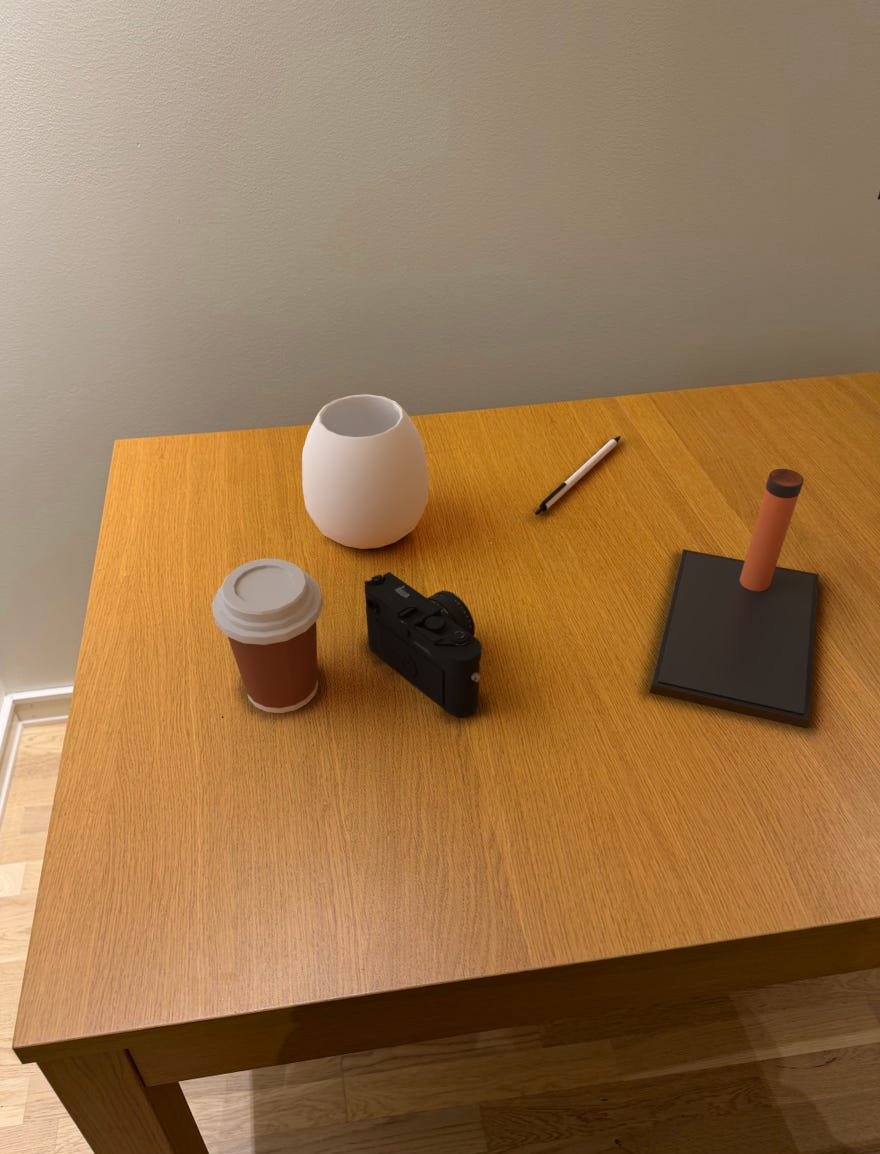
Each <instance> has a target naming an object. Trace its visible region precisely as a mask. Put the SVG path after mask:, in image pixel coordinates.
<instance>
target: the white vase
mask: <svg viewBox="0 0 880 1154" xmlns="http://www.w3.org/2000/svg"><path fill="white" fill-rule="evenodd" d="M301 459H302V460H301V479H302V480H301V482H302V486H301V488H302V493H303V500H304V505H305V506H304V507H305V510H306V512H307V513H308V515H309V516H310V518H311V521H313V523H314V525H315V526H316V527H317V528H318V530H319V532H320V533H321V534H322V535H323V536H324V537H327V538H329V539H330V540H331V541H334V542H336V543H338V544H340V545H342V546H345V547H347V548H348V547H349V548H354V549H360V550H367V549H380V548H382V547H385V546H388V545H392V544H394V543H397V542H398V541H400V540H401V539H403V538H404V537H405V536H406V535H408V534H409V533H411V532H413V531H414V530H415V529H416V527H417V526H418V524H419V522H420V520H421V518H422V516H423V514H424V511H425V509H426V507H427V504H428V502H429V472H428V464H427V456H426V451H425V445H424V441H423V439H422V437H421V434H420V433H419V430H418V427H417V426H416V425H415V423H414V422H413V420H412V418H411V417H410V416H409V414H408V413H407V412H406V410H405V409H404V408H403V407H402V405H400V404H399V403H398V402H397V401H396V400H393V399H390V398H389V397H385V396H382V395H376V394H375V395H374V394H370V393H369V394H368V393H366V394H365V393H364V394H352V395H351V394H350V395H348V396H347V395H346V396H344V397H340V398H337V399H334V400H332V401H330V402H329V403H327V404H325V405H323V407H322V408H321V409H320V410H319V412H318V413H317V414H316V417H315V418H314V420H313V422H312V424H311V426H310V427H309V429H308V432H307V435H306V437H305V442H304V445H303V448H302V455H301Z"/></svg>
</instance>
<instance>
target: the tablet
mask: <svg viewBox="0 0 880 1154" xmlns="http://www.w3.org/2000/svg"><path fill="white" fill-rule="evenodd" d="M744 562H745V559H744V560H743V559H738V558H732V557H728V556H727V557H726V556H721V555H716V554H711V553H705V552H700V551H694V550H688V549H682V551H681V555H680V561H679V564H678V568H677V573H676V577H675V580H674V585H673V589H672V594H671V598H670V602H669V607H668V611H667V614H666V620H665V624H664V628H663V631H662V636H661V641H660V645H659V650H658V654H657V658H656V661H655V666H654V670H653V675H652V678H651V679H652V680H651V683H650V684H651V685H650V687H649V693H651V694H656V695H660V696H665V697H668V698H673V699H678V700H682V701H687V702H690V703H696V704H700V705H703V706H704V705H705V706H707V707H708V706H709V707H713V708H716V709H721V710H726V711H731V712H735V713H739V714H743V715H747V716H752V717H756V718H761V719H765V720H770V721H774V722H778V723H783V724H788V725H792V726H796V727H801V728H806V729H807V727H808V725H809V723H810V720H811V719H810V718H811V703H812V689H813V672H814V671H813V670H814V657H815V656H814V655H815V641H816V640H815V639H816V622H817V607H818V592H819V579H820V577H819V573H814V572H810V571H803V570H798V569H793V568H788V567H782V566H777V565H776V568H775V571H774V574H773V577H772V580H771V583H770V586H769V588H768V589H766V590H764V591H759V592H757V591H751V590H748V589H746V588H745V587H743V586H742V585H741V583H740V576H741V573H742V569H743V566H744Z"/></svg>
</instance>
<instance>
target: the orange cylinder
mask: <svg viewBox="0 0 880 1154" xmlns="http://www.w3.org/2000/svg"><path fill="white" fill-rule="evenodd" d="M804 481H805V479H804V477H803V476H802V474H800V473H799V472H797V471H795V470H792V469H789V468H776V469H773V470H772V471H770V472H769V474H768V477H767V480H766V484H765V490H764V493H763V497H762V500H761V503H760V507H759V511H758V514H757V517H756V521H755V523H754V524H755V525H754V528H753V531H752V535H751V538H750V542H749V545H748V549H747V551H746V554H745V555H746V556H745V559H744V561H745V562H744V566H743V569H742V573H741V576H740V583H741V585H742V586H743V587H745V588H746V589H748V590H751V591H757V592H759V591H764V590H766V589H768V588H769V586H770V583H771V580H772V577H773V574H774V571H775V568H776V566H777V564H778V561H779V558H780V555H781V551H782V548H783V545H784V543H785V540H786V536H787V533H788V529H789V527H790V524H791V520H792V517H793V514H794V510H795V508H796V505H797V502H798V498H799V495H800V494H801V491H802V488H803V484H804Z"/></svg>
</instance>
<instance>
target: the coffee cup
mask: <svg viewBox="0 0 880 1154" xmlns="http://www.w3.org/2000/svg"><path fill="white" fill-rule="evenodd" d="M323 606H324V598H323V595H322V591H321V588H320V584H319V583H318V582H317V581H316V580H315V579H314V578H313V577H312V576H310V574H308V573H307V572H305V571H304V570H302V568H301V567H300V566H299V565H298V564H297V563H293V562H290V561H288V560H285V559H283V558H269V557H266V558H265V557H264V558H260V559H255V560H250V561H248V562H245V563H243V564H241V565H239V566H237V567H236V568H234V569H233V570H232V571H231V572H229V574H228V575H226V577H225V578H224V580H223V583H222V585H221V586H220V587H219V588H218V589H217V591H216V594H215V595H214V598H213V600H212V602H211V609H212V615H213V621H214V625H215V626H216V627H217V628H218V629H219V630H220V631H221V633H223V635H224V636H225V637H227V639H228V641H229V645H230V647H231V651H232V653H233V657H234V659H235V662H236V666H237V668H238V671H239V674H240V677H241V680H242V683H243V685H244V688H245V690H246V695H247V699H248V701H250V702H251V703H252V705H253V706H254V707H255V708H257V709H259V710H261V711H264V712H266V713H276V714H283V713H284V714H285V713H290V712H294V711H297V710H298V709H300V708H302V707H304V706H305V705H307V704H309V702H310V701H311V700H312V699H313V698H314V697H315V696H316V693H317V690H318V687H319V680H318V675H319V674H318V644H317V643H318V640H317V636H318V635H317V621H318V620H319V618H320V616H321V613H322V609H323Z"/></svg>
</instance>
